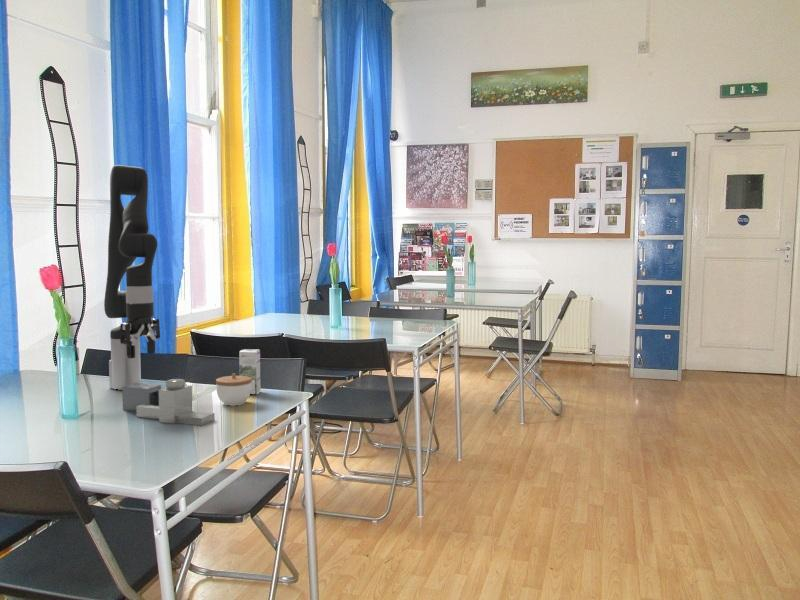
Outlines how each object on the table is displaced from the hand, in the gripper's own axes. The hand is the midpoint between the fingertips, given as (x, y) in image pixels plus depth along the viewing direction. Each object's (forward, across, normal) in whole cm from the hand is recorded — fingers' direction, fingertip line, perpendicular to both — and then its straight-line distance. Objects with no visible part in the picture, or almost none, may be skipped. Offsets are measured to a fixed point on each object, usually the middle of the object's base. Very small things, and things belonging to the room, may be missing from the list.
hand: (141, 355), depth 200 cm
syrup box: (+16, -29, +19) cm, 38 cm away
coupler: (+16, +7, +16) cm, 24 cm away
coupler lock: (+16, 0, 0) cm, 16 cm away
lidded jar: (+16, -15, +22) cm, 31 cm away
